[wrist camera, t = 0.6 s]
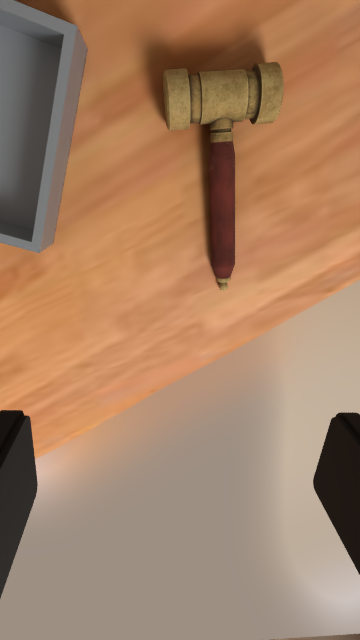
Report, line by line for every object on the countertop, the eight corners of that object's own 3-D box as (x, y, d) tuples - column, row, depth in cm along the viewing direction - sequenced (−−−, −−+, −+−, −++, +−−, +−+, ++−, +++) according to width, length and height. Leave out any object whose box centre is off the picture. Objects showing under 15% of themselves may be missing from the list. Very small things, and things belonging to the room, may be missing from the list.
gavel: (273, 293, 38) (182, 303, 37) (260, 279, 42) (178, 287, 41) (286, 56, 28) (164, 64, 28) (268, 68, 32) (161, 75, 32)
